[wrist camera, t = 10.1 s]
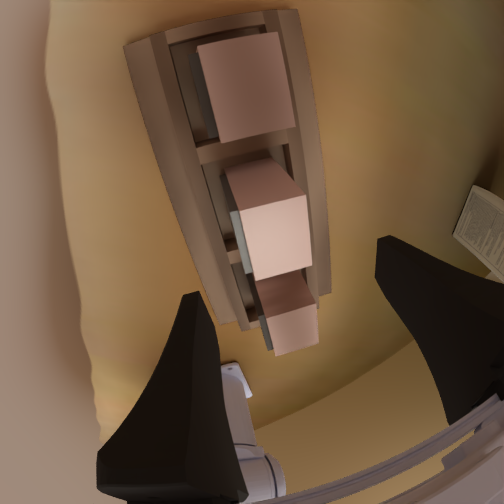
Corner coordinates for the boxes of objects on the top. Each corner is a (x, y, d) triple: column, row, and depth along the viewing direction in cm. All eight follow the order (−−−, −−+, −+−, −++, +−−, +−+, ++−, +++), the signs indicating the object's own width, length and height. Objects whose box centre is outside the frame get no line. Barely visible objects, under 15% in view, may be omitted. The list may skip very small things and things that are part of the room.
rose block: (231, 225, 20) (247, 283, 15) (217, 169, 18) (230, 213, 13) (280, 212, 20) (312, 265, 15) (271, 157, 18) (305, 194, 13)
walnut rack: (218, 316, 26) (229, 384, 20) (126, 47, 13) (89, 34, 7) (327, 285, 26) (360, 343, 21) (291, 11, 13) (345, -14, 8)
